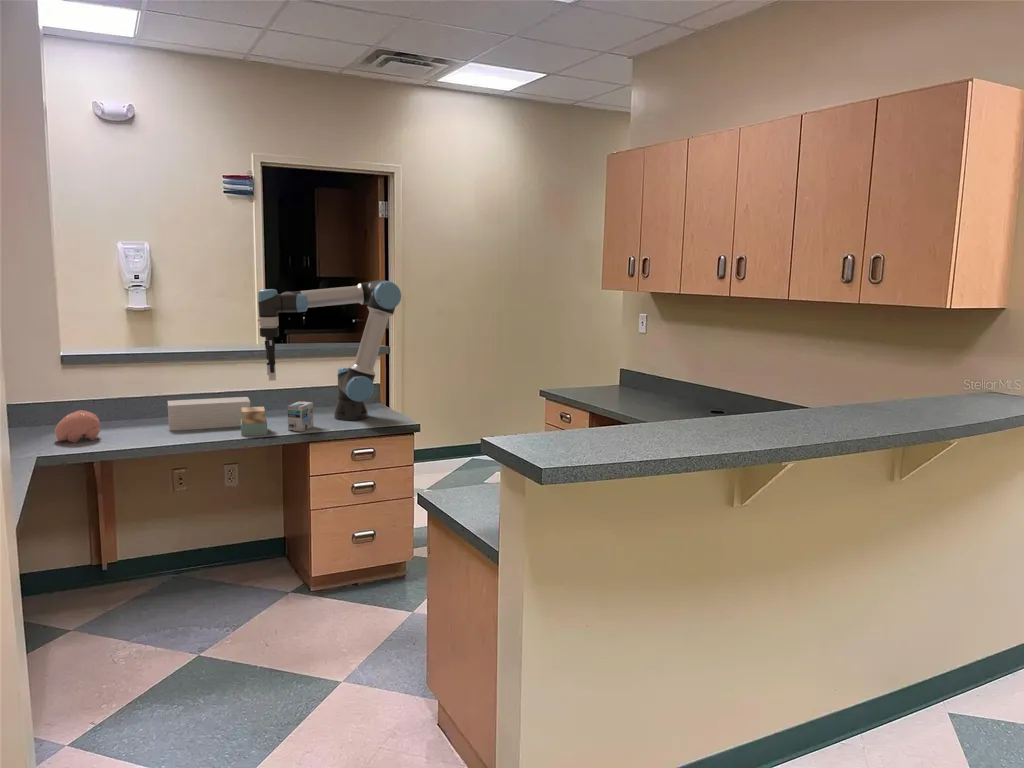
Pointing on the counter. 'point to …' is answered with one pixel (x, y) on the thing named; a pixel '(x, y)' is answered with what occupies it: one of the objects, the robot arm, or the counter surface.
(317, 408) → the counter surface
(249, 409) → the tower top block
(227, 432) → the counter surface
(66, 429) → the brain
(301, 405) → the light bulb box
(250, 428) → the tower base slab
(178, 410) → the pale grey long block
